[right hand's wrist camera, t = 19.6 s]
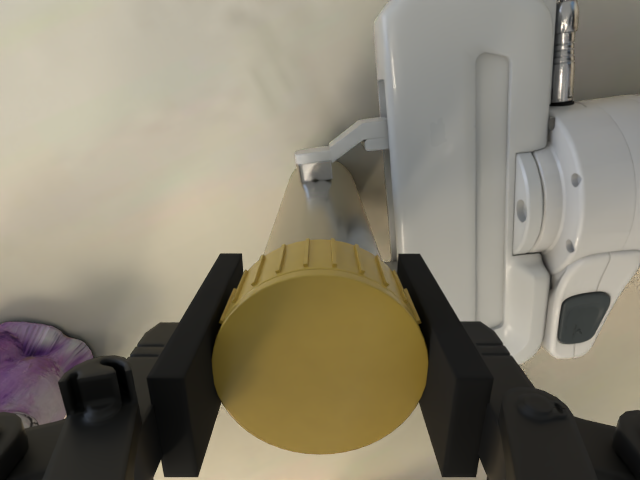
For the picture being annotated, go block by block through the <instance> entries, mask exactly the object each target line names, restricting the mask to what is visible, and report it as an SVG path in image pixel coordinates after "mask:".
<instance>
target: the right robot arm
mask: <svg viewBox="0 0 640 480" xmlns="http://www.w3.org/2000/svg"><path fill="white" fill-rule="evenodd" d="M242 275H243V262H242V254H220V255H219V257H218V258H217V260H216V262H215V263H214V265H213V267H212V268H211V270H210V272H209V273H208V275H207V277H206V278H205V280H204V282H203V284H202V285H201V287H200V289H199V290H198V292H197V294H196V295H195V297H194V299H193V300H192V302H191V304H190V305H189V307H188V309H187V310H186V312H185V314H184V315H183V317H182V319H181V321H180V322H179V323H159V324H157V325H156V326H155V327H153V328H152V329H150V330H149V331H147V332H146V333H145V334H144V336H143V337H142V339H141V340H140V342H139V343H138V344H137V347H135V349H134V350H133V351H132V353H131V354H130V357H128V359H126V358H123V357H119V356H115V355H114V356H101V357H97V358H93V359H89V360H86V361H84V362H82V363H80V364H78V365H75V366H74V367H73V368H71V369H70V370H68V371H67V372H66V373H64V375H63V376H62V377H61V379H60V380H59V381H58V385H59V389H60V392H61V396H62V399H63V403H64V407H65V410H66V414H67V417H66V418H65V419H62V420H59V421H55V422H51V423H46V424H42V425H38V426H33V427H29V428H24V425H23V422H22V419H21V418H20V417H19V416H18V415H16V414H15V413H9V412H0V480H153V477H154V475H155V472H156V470H157V468H158V465H159V463H160V460H161V461H162V467H163V472H164V477H198V475H199V472H200V469H201V466H202V463H203V459H204V456H205V453H206V450H207V447H208V443H209V440H210V437H211V434H212V431H213V427H214V424H215V421H216V418H217V415H218V411H219V408H220V405H221V400H220V398H219V396H218V394H217V391H216V388H215V385H214V378H213V370H212V352H213V346H214V343H215V340H216V337H217V334H218V332H219V329H220V327H221V324H220V323H219V321H220V319H221V316H222V314H223V312H224V309H225V307H226V305H227V302H228V300H229V298H230V295H231V293H232V291H233V288H235V289H237V287H238V285H239V282H240V280H241V278H242ZM397 275H398V277H399V279H400V282H401V284H402V286H403V288H404V289H405V288H407V290H408V293H409V295H410V297H411V300H412V302H413V304H414V307H415V309H416V311H417V314H418V316H419V318H420V321H421V323H420V324H419V327H420V329H421V332H422V334H423V336H424V339H425V343H426V346H427V350H428V359H429V363H428V372H427V381H426V386H425V389H424V391H423V394H422V397H421V399H420V400H419V404H420V407H421V411H422V414H423V417H424V420H425V423H426V427H427V430H428V433H429V436H430V439H431V443H432V446H433V449H434V452H435V455H436V459H437V462H438V465H439V468H440V471H441V475H442V477H476V474H477V468H478V463H479V458H480V460H481V463H482V465H483V467H484V470H485V472H486V474H487V480H640V410H634V411H627V412H625V413H624V414H622V415H621V416H620V417H619V420H618V423H617V426H616V427H614V426H610V425H606V424H601V423H597V422H592V421H588V420H584V419H580V418H577V417H574V416H573V414H572V413H571V411H570V410H569V408H568V407H567V406H566V405H565V404H564V403H563V402H562V401H560V400H559V399H558V398H557V397H555V396H553V395H551V394H549V393H547V392H545V391H542V390H539V389H535V387H534V386H533V384H532V383H531V382H530V380H529V379H528V377H527V376H526V375H525V373H524V372H523V370H522V369H521V368H520V366H519V365H518V363H517V362H516V361H515V359H514V358H513V356H510V352H509V351H508V349H507V348H506V347H505V346H503V342H502V341H501V339H500V338H499V337H498V335H497V334H496V332H495V331H493V330H492V329H491V328H489V327H488V326H486V325H485V324H483V323H482V322H481V321H460V320H459V318H458V317H457V315H456V313H455V312H454V310H453V308H452V307H451V305H450V303H449V302H448V300H447V298H446V297H445V295H444V293H443V292H442V290H441V288H440V286H439V285H438V283H437V281H436V280H435V278H434V276H433V275H432V273H431V271H430V270H429V268H428V266H427V265H426V263H425V261H424V260H423V258H422V256H421V255H420V254H398V266H397Z"/></svg>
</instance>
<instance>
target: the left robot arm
mask: <svg viewBox="0 0 640 480" xmlns="http://www.w3.org/2000/svg"><path fill="white" fill-rule="evenodd" d="M578 23H579V6H578V1H577V0H560V2H559V3H557V0H390V1H389V2H388V3H387V4H386V5H385V6H384V7H383V9H382V10H381V12H380V13H379V15H378V16H377V18H376V19H375V22H374V26H373V32H374V46H375V58H376V71H377V84H378V97H379V109H380V117H375V118H368V119H362V120H358V121H356V122H355V123H354V124H353V125H351V126H350V127H349V128H348V129H346V130H345V131H344V132H342V133H341V134H340V135H339V136H337V137H336V138H335V139H334V140H332V141H331V142H330V143H329V146H321V147H314V148H307V149H301V150H298V151H296V152H295V161H296V167H297V173H298V178H299V182H300V183H307V182H311V181H313V180H314V179H315V178H316V179H318V180H330V179H333V175H332V165H331V162H332V163H333V162H335V161H336V160H337V159H339V158H340V157H341V156H343V155H344V154H345V153H347V152H348V151H349V150H351V149H352V148H353V147H355V146H356V145H357V144H359V143H360V142H361V144H362V145H363V147H364V148H365V150H366V151H377V150H383V160H384V173H385V186H386V199H387V212H388V224H389V237H390V250H391V261H390V262H384V263H385V264H386V265H387V266H388V267H389V268H390V269H391V270H392V271H393V270H395V271H396V272H397V266H398V254H420V255H421V256H422V258H423V260H424V261H425V263H426V265H427V266H428V268H429V270H430V271H431V273H432V275H433V276H434V278H435V280H436V281H437V283H438V285H439V286H440V288H441V290H442V292H443V293H444V295H445V297H446V298H447V300H448V302H449V303H450V305H451V307H452V308H453V310H454V312H455V313H456V315H457V317H458V318H459V320H460V321H481V322H482V323H483V324H485V325H486V326H488V327H489V328H491V329H492V330H493V331H495V332H496V334H497V335H498V337H499V338H500V339H501V341H502V342H503V346H505V347H506V348H507V349H508V351H509V352H510V356H513V358H514V359H515V361H516V362H517V363H518V365H520V364H522V363H524V362H526V361H528V360H529V359H530V358H532V357H533V356H534V355H535V354H536V352H537V351H538V350H539V348H540V346H542V347H543V348H544V349H545V350H546V351H547V352H548V353H549V354H550V355H551V356H552V357H554V358H557V359H573V358H578V357H581V356H583V355H585V354H586V353H587V352H588V351H589V350H590V349H591V347H592V346H593V344H594V342H595V340H596V338H597V336H598V334H599V332H600V330H601V328H602V326H603V324H604V322H605V320H606V318H607V316H608V315H609V313H610V311H611V309H612V307H613V306H614V304H615V302H616V301H617V299H618V297H619V296H620V294H621V293H622V291H623V290H624V288H625V287H626V285H627V284H628V283H629V281H630V280H631V279H632V277H633V276H634V275H635V273H636V272H637V270H638V268H639V266H640V94H627V95H620V96H612V97H605V98H598V99H591V100H583V101H576V102H574V101H573V88H574V75H575V62H574V60H575V56H574V50H573V48H574V43H573V42H574V41H575V32H576V31H577V29H578Z"/></svg>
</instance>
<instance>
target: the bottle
mask: <svg viewBox="0 0 640 480" xmlns="http://www.w3.org/2000/svg"><path fill="white" fill-rule="evenodd" d="M331 165H332V175H333V179H330V180H318V179H316V178H315V179H314V180H313V181H311V182H307V183H300V182H299V178H298V173H297V168H296V169H295V170H294V172H293V173H292V175H291V177H290V179H289V182H288V185H287V187H286V190H285V193H284V196H283V199H282V202H281V205H280V208H279V211H278V214H277V217H276V220H275V223H274V225H273V228H272V231H271V234H270V237H269V240H268V243H267V246H266V249H265V252H264V256H265V255H267V254H269V253H270V252H272V251H274V250H276V249H278V248H280V247H281V245H282V244H285V245H288V244H291V243H295V242H299V241H305V240H306V239H307V238H309V239H310V240H316V239H325V240H331V238H334V239H335V240H336V241H341V242H346V243H349V244H352V245H355V244H358V245H359V247H360V248H362V249H364V250H366V251H368V252H370V253H372V254H373V255H375V256H376V255H379V256H380V254H379V251H378V248H377V245H376V242H375V239H374V237H373V234H372V231H371V228H370V225H369V222H368V219H367V216H366V214H365V211H364V208H363V205H362V202H361V199H360V196H359V193H358V190H357V188H356V185H355V182H354V179H353V177H352V175H351V173H350V172H349V170H348V169H347V168H346V167H345V166H344V165H342V164H341V163H339V162H338V161H335V162H333V163H332V162H331ZM380 258H381V257H380Z"/></svg>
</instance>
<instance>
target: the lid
mask: <svg viewBox="0 0 640 480" xmlns="http://www.w3.org/2000/svg"><path fill="white" fill-rule="evenodd" d="M219 323H220V324H221V327H220V329H219V332H218V334H217V337H216V340H215V343H214V346H213V352H212V370H213V378H214V385H215V388H216V391H217V394H218V396H219V398H220V400H221V402H222V404H223V406H224V407H225V408H226V410H227V411H228V413H229V414H230V415H231V416H232V417H233V419H234V420H235V421H236V422H237V423H238V424H239V425H240V426H242V427H243V428H244V429H245V430H246V431H248V432H249V433H251V434H252V435H254V436H255V437H257V438H258V439H260V440H262V441H264V442H266V443H268V444H271V445H273V446H276V447H279V448H281V449H285V450H289V451H293V452H299V453H305V454H335V453H342V452H347V451H351V450H355V449H359V448H361V447H364V446H367V445H370V444H372V443H374V442H376V441H378V440H380V439H382V438H383V437H385V436H387V435H388V434H390V433H391V432H392V431H394V430H395V429H396V428H397V427H399V426H400V425H401V424H402V423H403V422H404V421H405V420H406V419H407V418H408V417H409V416H410V414H411V413H412V411H413V410H414V409H415V407H416V406H417V404H418V402H419V400H420V399H421V397H422V394H423V391H424V389H425V386H426V381H427V372H428V363H429V359H428V350H427V346H426V343H425V339H424V336H423V334H422V332H421V329H420V327H419V324H420V323H421V321H420V318H419V316H418V314H417V311H416V309H415V307H414V304H413V302H412V300H411V297H410V295H409V293H408V290H407V288H405V289H404V288H403V286H402V284H401V282H400V279H399V277H398V275H397V272H396V271H395V270H393V271H392V270H391V269H390V268H389V267H388V266H387V265H386V264H385V263H384V262H383V261H382V260H381V258H380V256H379V255H376V256H375V255H373V254H372V253H370V252H368V251H366V250H364V249H362V248H360V247H359V245H358V244H355V245H352V244H349V243H346V242H341V241H336V240H335V239H334V238H331V240H325V239H316V240H310V239H309V238H307V239H306V240H305V241H299V242H295V243H291V244H288V245H285V244H282V245H281V247H280V248H278V249H276V250H274V251H272V252H270V253H269V254H267V255H265V256H264V255H262V256H260V259H259V261H257V262H256V263H255V264H254V265H253V266H252V267H251V268H250V269H249V270H248V271H247V270H245V271H244V273H243V275H242V278H241V280H240V282H239V285H238V287H237V289H235V288H233V291H232V293H231V295H230V298H229V300H228V302H227V305H226V307H225V309H224V312H223V314H222V316H221V319H220V321H219Z"/></svg>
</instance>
